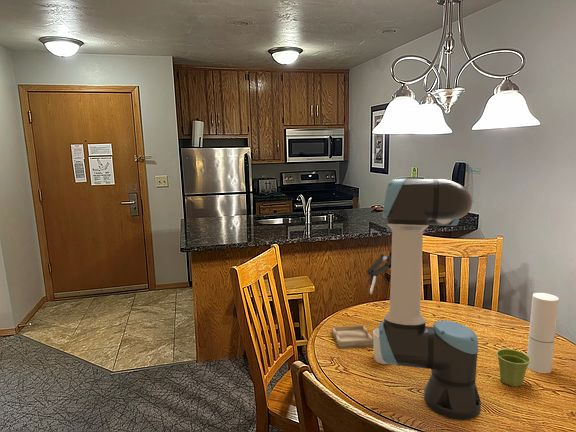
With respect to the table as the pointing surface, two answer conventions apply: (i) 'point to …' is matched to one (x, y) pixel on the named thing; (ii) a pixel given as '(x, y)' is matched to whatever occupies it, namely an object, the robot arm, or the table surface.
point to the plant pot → (512, 366)
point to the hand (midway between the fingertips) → (389, 297)
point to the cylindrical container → (542, 332)
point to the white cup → (377, 347)
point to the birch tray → (352, 336)
